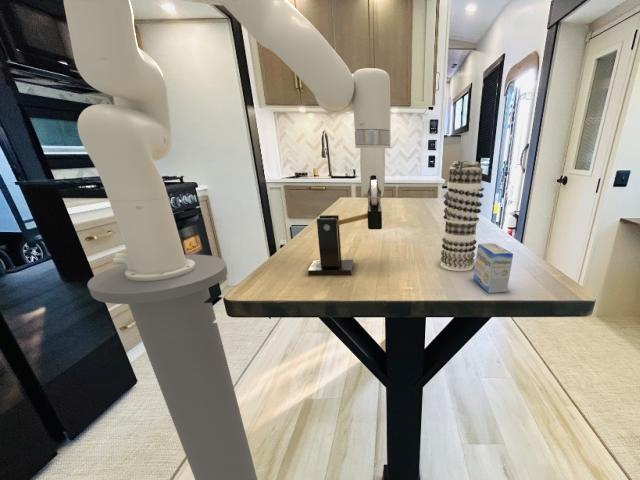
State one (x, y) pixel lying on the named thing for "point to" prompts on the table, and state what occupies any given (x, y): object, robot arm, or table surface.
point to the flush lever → (352, 219)
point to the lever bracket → (329, 249)
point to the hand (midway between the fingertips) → (374, 225)
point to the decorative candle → (461, 215)
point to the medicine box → (492, 267)
